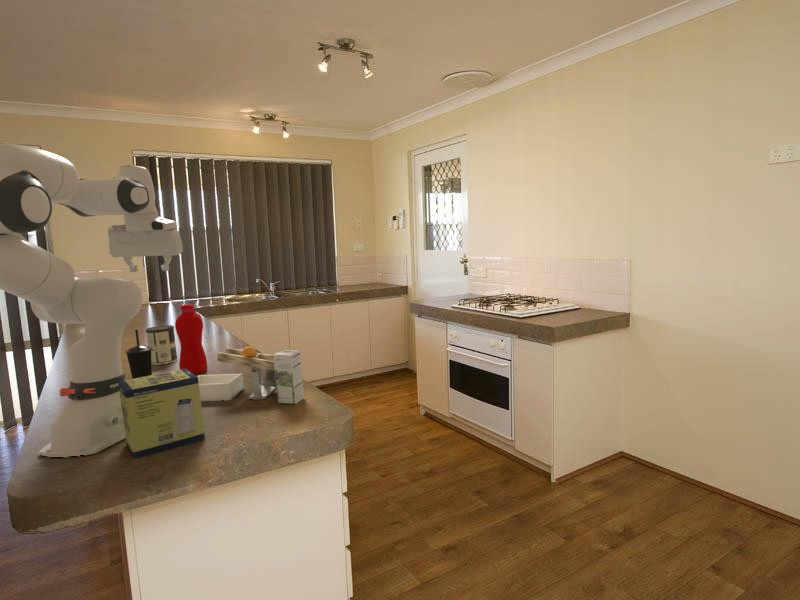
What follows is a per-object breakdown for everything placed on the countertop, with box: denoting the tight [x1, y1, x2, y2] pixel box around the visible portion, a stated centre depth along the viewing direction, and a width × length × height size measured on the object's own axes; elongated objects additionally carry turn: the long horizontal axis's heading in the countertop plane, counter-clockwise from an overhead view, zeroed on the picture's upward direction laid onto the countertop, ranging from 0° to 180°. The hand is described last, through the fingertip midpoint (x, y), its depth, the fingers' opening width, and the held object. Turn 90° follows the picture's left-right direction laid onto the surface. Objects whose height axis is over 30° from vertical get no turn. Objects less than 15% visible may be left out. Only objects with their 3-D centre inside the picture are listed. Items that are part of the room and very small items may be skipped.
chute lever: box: [216, 347, 276, 387], centre depth 154 cm, size 20×14×8 cm
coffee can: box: [145, 324, 179, 366], centre depth 200 cm, size 10×10×14 cm
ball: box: [242, 345, 257, 357], centre depth 150 cm, size 4×4×4 cm
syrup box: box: [273, 349, 305, 405], centre depth 141 cm, size 6×6×14 cm
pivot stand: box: [248, 366, 277, 400], centre depth 151 cm, size 12×5×10 cm, turn 177°
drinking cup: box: [125, 329, 153, 379], centre depth 160 cm, size 8×8×20 cm
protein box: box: [118, 369, 206, 459], centre depth 116 cm, size 10×16×16 cm
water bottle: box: [174, 303, 210, 375], centre depth 180 cm, size 9×11×25 cm
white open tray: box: [196, 373, 245, 402], centre depth 152 cm, size 11×14×5 cm
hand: (149, 271), depth 146 cm, fingers open, 8 cm apart
